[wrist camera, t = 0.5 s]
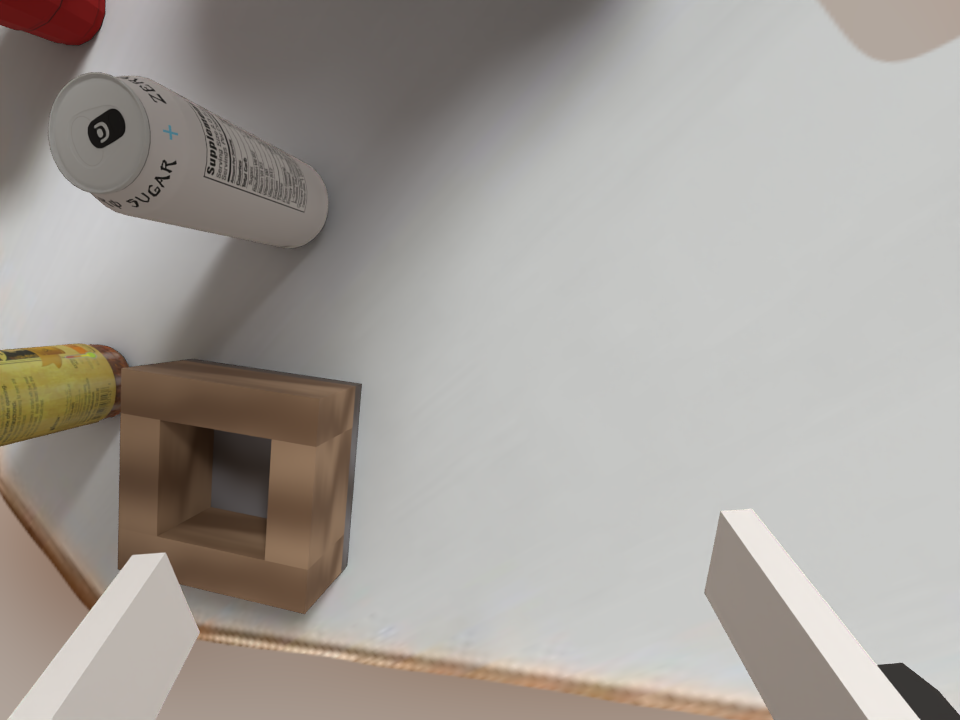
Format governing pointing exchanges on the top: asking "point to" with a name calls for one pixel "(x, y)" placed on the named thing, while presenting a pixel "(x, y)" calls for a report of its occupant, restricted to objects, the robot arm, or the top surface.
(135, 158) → the energy drink can
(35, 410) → the sauce bottle
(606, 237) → the top surface
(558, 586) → the top surface
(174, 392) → the well block
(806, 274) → the top surface
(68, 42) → the plastic cup
